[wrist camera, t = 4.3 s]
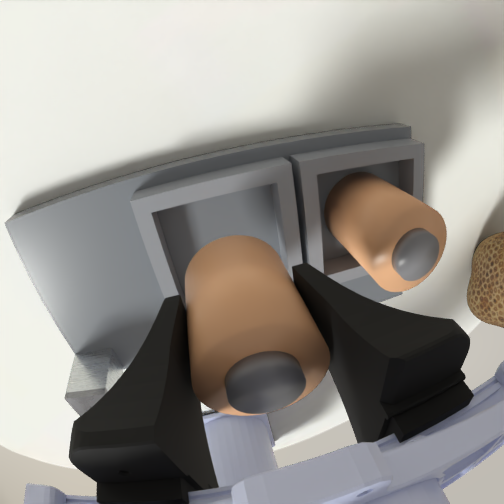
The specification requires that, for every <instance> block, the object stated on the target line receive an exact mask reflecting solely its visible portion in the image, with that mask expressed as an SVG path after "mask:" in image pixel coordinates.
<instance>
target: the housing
mask: <svg viewBox="0 0 504 504" xmlns="http://www.w3.org/2000/svg"><path fill="white" fill-rule="evenodd" d="M355 172H368V173H371V174H374V175H376V176H378V177H379V178H381V179H383V180H385V181H387V182H388V183H390V184H392V185H394V186H396V187H397V188H399V189H401V190H403V191H404V192H406V193H408V194H410V195H411V196H413V197H415V198H416V199H418V200H420V201H421V202H423V188H424V143H422V142H419V141H416V140H413V139H411V127H410V126H407V125H403V124H388V125H377V126H367V127H358V128H350V129H342V130H334V131H327V132H320V133H313V134H306V135H300V136H294V137H288V138H282V139H276V140H271V141H265V142H260V143H255V144H250V145H245V146H240V147H235V148H230V149H226V150H221V151H217V152H212V153H208V154H204V155H199V156H195V157H191V158H187V159H183V160H179V161H175V162H171V163H167V164H164V165H160V166H156V167H153V168H149V169H145V170H142V171H138V172H135V173H132V174H128V175H125V176H122V177H118V178H115V179H112V180H109V181H105V182H102V183H99V184H96V185H93V186H90V187H87V188H84V189H81V190H78V191H75V192H72V193H70V194H67V195H64V196H61V197H58V198H56V199H53V200H50V201H48V202H45V203H42V204H40V205H37V206H34V207H32V208H29V209H27V210H24V211H22V212H19V213H17V214H14V215H13V216H12V217H10V218H9V219H8V220H7V221H6V222H5V225H6V228H7V230H8V233H9V235H10V237H11V239H12V242H13V244H14V246H15V248H16V250H17V253H18V255H19V257H20V259H21V261H22V263H23V265H24V267H25V269H26V271H27V273H28V275H29V277H30V279H31V281H32V283H33V285H34V287H35V289H36V290H37V292H38V294H39V296H40V298H41V299H42V301H43V303H44V305H45V306H46V308H47V310H48V312H49V313H50V315H51V317H52V318H53V320H54V322H55V323H56V325H57V327H58V328H59V330H60V331H61V333H62V335H63V336H64V338H65V339H66V341H67V342H68V344H69V345H70V347H71V348H72V350H73V351H74V353H75V354H79V353H85V352H91V351H96V350H102V349H107V348H112V349H113V351H114V352H115V354H116V355H117V357H118V359H119V360H120V362H121V364H122V365H123V367H124V368H123V369H126V368H128V366H129V365H130V364H131V362H132V361H133V359H134V358H135V356H136V354H137V353H138V351H139V349H140V348H141V346H142V344H143V342H144V341H145V339H146V337H147V335H148V333H149V331H150V329H151V327H152V325H153V323H154V321H155V319H156V316H157V314H158V312H159V310H160V308H161V305H162V303H163V301H164V299H165V298H167V297H171V296H176V295H180V296H181V298H182V301H183V304H184V307H185V309H186V298H185V274H186V270H187V267H188V265H189V263H190V261H191V260H192V258H193V257H194V256H195V254H196V253H197V252H198V251H199V250H200V249H201V248H203V247H204V246H205V245H207V244H209V243H210V242H212V241H214V240H217V239H219V238H223V237H226V236H233V235H245V236H251V237H255V238H258V239H260V240H262V241H264V242H266V243H267V244H269V245H270V246H271V247H272V248H273V249H275V251H276V252H277V253H278V255H279V257H280V258H281V260H282V262H283V264H284V266H285V268H286V269H287V271H288V273H289V275H290V277H291V279H292V280H293V272H292V266H295V265H299V264H303V263H308V264H310V265H311V266H313V267H314V268H316V269H317V270H319V271H320V272H322V273H323V274H325V275H326V276H328V277H330V278H331V279H333V280H334V281H336V282H338V283H339V284H341V285H343V286H345V287H346V288H348V289H350V290H352V291H354V292H356V293H358V294H360V295H362V296H364V297H366V298H368V299H371V300H373V301H376V302H378V303H379V302H382V301H384V300H387V299H390V298H393V297H396V296H398V295H401V294H402V292H390V291H387V290H385V289H383V288H382V287H380V286H379V285H378V283H377V282H376V281H375V280H374V279H373V278H372V277H371V276H370V275H369V273H368V272H367V271H366V270H365V269H364V268H363V267H362V266H361V265H360V264H359V262H358V261H357V260H356V259H355V258H354V257H353V256H352V255H351V254H350V253H349V252H348V250H347V249H346V248H345V247H344V246H343V245H342V244H341V243H340V242H339V241H338V240H337V239H336V238H335V237H334V236H333V235H332V233H331V232H330V231H329V229H328V228H327V225H326V223H325V218H324V208H325V203H326V200H327V197H328V195H329V193H330V191H331V190H332V188H333V187H334V186H335V184H336V183H337V182H338V181H340V180H341V179H342V178H344V177H345V176H347V175H349V174H352V173H355ZM293 282H294V281H293Z"/></svg>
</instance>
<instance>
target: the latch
mask: <svg viewBox="0 0 504 504" xmlns="http://www.w3.org/2000/svg"><path fill="white" fill-rule="evenodd" d="M123 368H124V367H123V365H122V364H121V362H120V360H119V359H118V357H117V355H116V354H115V352H114V351H113V349H112V348H107V349H102V350H96V351H91V352H85V353H79V354H75V357H74V361H73V365H72V369H71V373H70V377H69V381H68V386H67V390H66V395H65V400H66V401H67V402H68V403H69V404H70V405H71V406H72V408H73V409H74V410H75V411H76V412H77V413H78V414H79V415H80V416H82V415H83V414H84V413H85V412H87V411H88V410H89V409H90V408H91V407H92V406H94V405H95V404H96V403H97V402H98V401H99V400H100V399H101V398H102V397H103V396H104V395H105V394H106V393H107V392H108V391H109V390H110V389H111V388H112V386H113V385H114V384H115V383H116V382H117V380H118V379H119V378H120V377H121V376H122V374H123Z"/></svg>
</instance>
